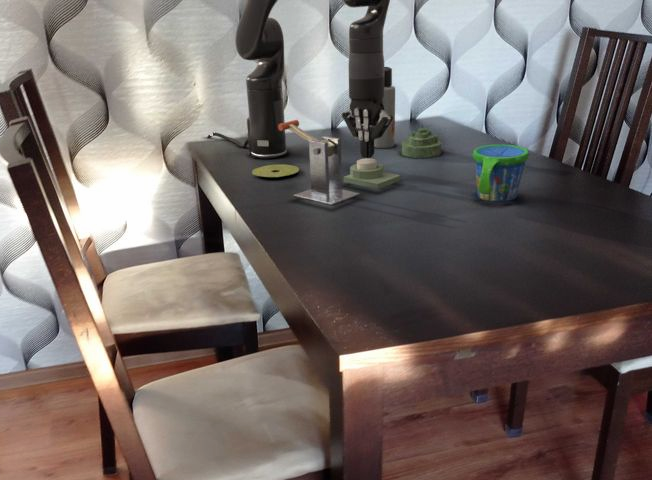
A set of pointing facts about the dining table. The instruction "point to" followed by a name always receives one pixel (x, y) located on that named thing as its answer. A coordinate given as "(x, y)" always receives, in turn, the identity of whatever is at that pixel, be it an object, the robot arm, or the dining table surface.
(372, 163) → the button
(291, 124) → the lever
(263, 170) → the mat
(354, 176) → the control block
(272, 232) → the dining table surface
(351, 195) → the bracket
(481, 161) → the snack cup
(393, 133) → the lotion bottle
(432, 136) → the decorative artifact
